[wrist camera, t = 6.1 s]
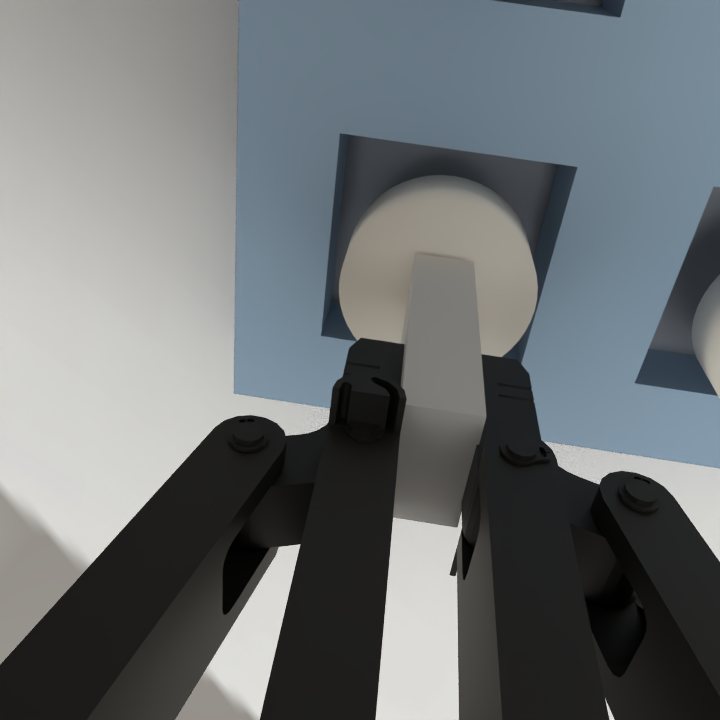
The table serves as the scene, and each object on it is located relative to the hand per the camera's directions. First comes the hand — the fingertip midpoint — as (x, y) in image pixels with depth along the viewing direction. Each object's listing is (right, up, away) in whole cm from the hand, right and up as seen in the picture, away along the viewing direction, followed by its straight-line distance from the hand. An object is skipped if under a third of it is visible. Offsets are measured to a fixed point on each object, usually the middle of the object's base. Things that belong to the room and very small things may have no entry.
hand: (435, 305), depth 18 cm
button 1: (0, +2, +2) cm, 3 cm away
